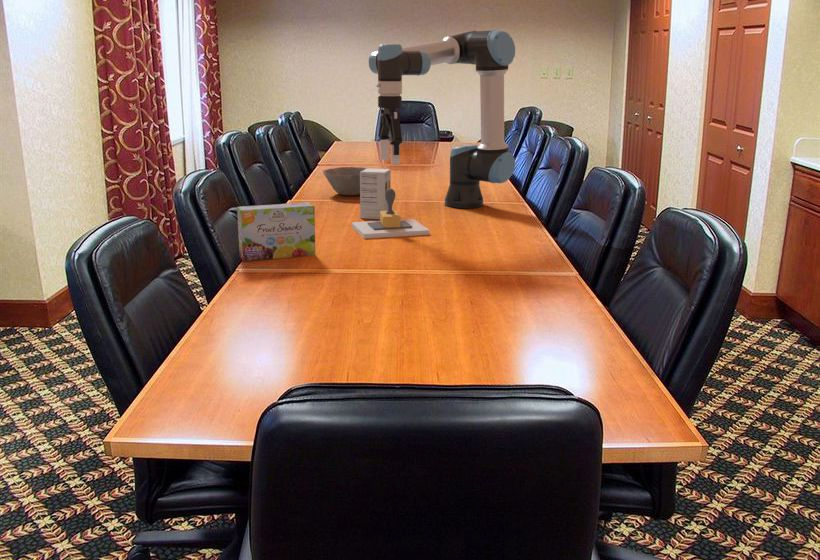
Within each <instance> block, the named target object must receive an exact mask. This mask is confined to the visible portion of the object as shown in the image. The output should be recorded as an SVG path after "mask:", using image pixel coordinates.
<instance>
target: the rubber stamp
mask: <svg viewBox="0 0 820 560" xmlns="http://www.w3.org/2000/svg"><path fill="white" fill-rule="evenodd" d="M385 198H386V201H387V204H388V211H380V219H379V221H380V222H381V224H382V226H383V227H384V228H387V227H400V220H401V215H400V214H399V212H398V211H397V210H394V209H393V205H394V202H395V201H396V191H395V190H394V189H393V188H390V189H387V190H386V192H385Z"/></svg>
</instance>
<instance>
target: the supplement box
mask: <svg viewBox="0 0 820 560" xmlns="http://www.w3.org/2000/svg"><path fill="white" fill-rule="evenodd" d="M391 179H392V178H391V169H390V168H389V169H388V168H369V169H365V170H363V171H361V172H360V194H359V195H360V196H359V200H360V201H359V202H360V203H359V205H360V206H359V209H360V210H359V211H360V213H359V215H360V216H359V218H360V219H368V220H369V219H371V220H380V211H388V204H387V201H386V198H385V192H386V190H387V189H391Z"/></svg>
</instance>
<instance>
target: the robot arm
mask: <svg viewBox="0 0 820 560" xmlns="http://www.w3.org/2000/svg"><path fill="white" fill-rule="evenodd" d="M515 56H516V45H515V42H514V39H513V37H512V36H511V35H510V33H509V32H507V31H504V30H496V29H492V30H470V31H469V30H468V31H466V32H462V33H458V34H455V35H449V36H446V37H444V38H443V39H442V40H439V41H434V42H433V41H432V42H428V43H422V44H421V43H420V44H417V45H410V46H405V47H403V46H402V44H399V43H397V44H395V43H390V44H389V43H387V44H386V43H383V44H379V46H378V49H377V50H375V51H373V52H372V53H371V54H370V55H369V57H368V67H369V70H370V71H371V72H372V73H374V74H377V83H378V84H376V88H377V92H378V94H379V95H378V96H377V107H378V108H379V109H380V117H379V118H380V120H379V125H378V126H379V127H378V134H377V135H378V136H377V137H379V148H380V149H379V154H380V155H379V156H380V157H379V158H380V160H381V161H382V160H383V161H385V160H386V161H387V160H389V159H390V163H391V164H390V165H391V166H401V144H402V143H403V137H402V127H401V119H400V118H401V117H400V111H397V109H400V108H402V105H403V104H402V102H403V101H402V100H403V99H402V98H403V96H402V95H403V81H402V80H403V76H423V75H427V74H428V72H429V71H430V69H431V66H434V65H440V64H444V63H446V64H448V65H454V64H455V65H456V64H465V65H473V66H474V65H475V72H476V73H477V74H478V75H479V87H480V88H479V89H480V94H479V95H480V100H479V101H480V104H479V105H480V142H479V144H470V145H459V146H458V145H457V146H453V147H452V148H451V149H450V155H449V185H448V189H447V191H446V194H445V197H444V205H445V206H446V207H449V208H456V209H475V208H480V207H483V206H484V196H483V193H482V191H481V186H480V183H481V182H486V183H491V184H504V183H506V182H507V181H508V180H510V179H511V176H513V173H514V171H515V168H516V158H515V157H514V155H513V154H512V153H511V152H509V144H507V142H505V74H506V73H507V72H508V70H509V65H510V64H512V63H513V61H514V58H515ZM389 135H390V136H389ZM390 139H391V141H390V142H389V140H390ZM389 145H390V146H389ZM389 147H390V148H389ZM389 150H390V151H389ZM390 152H391V153H390Z"/></svg>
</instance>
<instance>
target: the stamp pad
mask: <svg viewBox="0 0 820 560" xmlns="http://www.w3.org/2000/svg"><path fill="white" fill-rule="evenodd" d="M350 224H351V228H352V229H353V230H354V231H355V232H356V233H358V234H359V235H360V237H362V239H364V240H366V239H378V238H380V239H381V238H394V237H413V236H428V235H430V229H429V228H427V227H426V226H424V225H423V224H422V223H420V222H418V220H416V219H414V218H409V219H408V218H407V219H406V218H405V219H404V218H403V219H400V227H387V228H384V227H383V226H382V224H381V222H380V220H369V221H352V222H351V223H350Z"/></svg>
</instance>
